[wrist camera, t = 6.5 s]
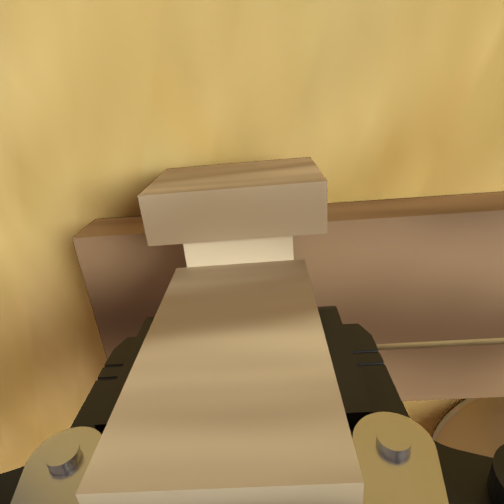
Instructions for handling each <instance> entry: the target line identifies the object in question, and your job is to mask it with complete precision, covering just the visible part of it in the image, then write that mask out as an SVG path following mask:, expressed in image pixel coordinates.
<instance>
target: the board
mask: <svg viewBox="0 0 504 504" xmlns="http://www.w3.org/2000/svg"><path fill="white" fill-rule="evenodd" d="M72 239H73V243H74V246H75V250H76V253H77V257H78V260H79V264H80V267H81V270H82V274H83V277H84V281H85V284H86V288H87V291H88V295H89V298H90V302H91V305H92V308H93V312H94V315H95V319H96V322H97V326H98V329H99V333H100V336H101V339H102V343H103V346H104V350H105V353H106V357H107V360H108V358H109V356H110V355H111V353H112V351H113V350H114V349H115V348H116V347H117V346H118V345H119V344H120V343H121V342H123V341H124V340H125V339H126V338H127V337H136V336H137V335H138V333H139V331H140V329H141V327H142V325H143V323H144V321H145V319H146V318H147V317H155V315H156V313H157V311H158V308H159V306H160V304H161V302H162V299H163V297H164V295H165V293H166V290H167V288H168V286H169V284H170V282H171V279H172V277H173V275H174V273H175V270H176V268H184V267H187V264H186V258H185V253H184V247H183V244H174V245H160V246H148V243H147V239H146V234H145V229H144V224H143V220H142V216H133V217H118V218H103V219H95V220H94V221H93V222H91V223H90V224H89V225H88V226H87V227H85V228H84V229H83V230H82V231H81V232H79V233H78V234H77V235H76V236H74V237H73V238H72ZM293 255H294V260H300V259H305V263H306V266H307V270H308V274H309V278H310V282H311V285H312V289H313V293H314V297H315V300H316V304H317V307H322V306H336V307H337V310H338V312H339V315H340V318H341V321H342V324H356V323H358V324H359V325H361V326H362V327H363V328H364V329H365V330H366V331H368V332H369V333H370V334H371V335H372V337H373V339H374V341H375V343H376V345H377V348H378V351H379V353H380V354H381V356H382V359H383V361H384V365H386V367H387V370H388V372H389V374H390V376H391V379H392V381H393V383H394V385H395V387H396V390H397V392H398V394H399V396H400V398H401V401H419V400H442V399H465V398H488V397H504V192H490V193H475V194H460V195H445V196H430V197H415V198H400V199H386V200H371V201H356V202H341V203H327V233H326V234H312V235H298V236H293Z"/></svg>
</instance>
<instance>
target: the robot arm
mask: <svg viewBox="0 0 504 504" xmlns="http://www.w3.org/2000/svg"><path fill="white" fill-rule="evenodd" d="M317 308H318V312H319V315H320V319H321V323H322V327H323V330H324V334H325V338H326V342H327V345H328V349H329V353H330V357H331V360H332V364H333V368H334V372H335V375H336V379H337V383H338V387H339V390H340V394H341V398H342V402H343V406H344V409H345V413H346V417H347V421H348V424H349V428H350V432H351V436H352V439H353V443H354V447H355V451H356V454H357V458H358V462H359V466H360V469H361V473H362V477H363V481H364V493H363V504H504V444H503V445H501V446H500V447H499V448H498V449H497V450H496V452H495V454H494V457H493V458H492V457H487V456H483V455H479V454H474V453H470V452H466V451H461V450H457V449H454V448H450V447H448V446H445V445H443V444H440V443H438V442H436V441H435V440H433V439H432V437H431V436H430V435H429V433H428V432H427V431H426V430H425V429H424V428H423V427H422V426H421V425H420V424H418V423H417V422H415V421H414V420H412V419H410V417H409V416H408V414H407V412H406V409H405V407H404V405H403V403H402V401H401V398H400V396H399V394H398V392H397V390H396V387H395V385H394V383H393V381H392V379H391V376H390V374H389V372H388V370H387V367H386V365H384V361H383V359H382V356H381V354H380V353H379V351H378V348H377V345H376V343H375V341H374V339H373V337H372V335H371V334H370V333H369V332H368V331H366V330H365V329H364V328H363V327H362V326H361V325H359V324H358V323H356V324H342V321H341V318H340V315H339V312H338V310H337V307H336V306H322V307H317ZM153 320H154V317H147V318H146V319H145V321H144V323H143V325H142V327H141V329H140V331H139V333H138V335H137V336H136V337H127V338H126V339H125V340H124V341H123V342H121V343H120V344H119V345H118V346H117V347H116V348H115V349H114V350H113V351H112V353H111V355H110V356H109V358H108V360H107V362H106V364H105V368H103V369H102V371H101V373H100V375H99V376H98V381H96V382H95V384H94V386H93V387H92V389H91V391H90V393H89V395H88V396H87V398H86V400H85V402H84V404H83V406H82V407H81V409H80V411H79V413H78V415H77V417H76V418H75V420H74V422H73V424H72V426H71V427H70V429H67V430H64V431H62V432H59V433H58V434H56V435H54V436H52V437H51V438H49V439H48V440H46V441H45V442H44V443H42V444H41V445H40V446H39V447H38V448H37V449H36V450H35V451H34V452H33V454H32V455H31V456H30V458H29V459H28V461H27V462H26V465H25V466H24V467H21V468H18V469H15V470H12V471H9V472H6V473H3V474H0V504H79V502H78V500H77V497H76V495H75V494H76V492H77V489H78V487H79V485H80V483H81V481H82V478H83V476H84V474H85V472H86V469H87V467H88V465H89V463H90V460H91V458H92V456H93V454H94V451H95V449H96V447H97V445H98V443H99V440H100V438H101V436H102V434H103V431H104V429H105V427H106V425H107V422H108V420H109V418H110V416H111V413H112V411H113V409H114V407H115V405H116V402H117V400H118V398H119V396H120V393H121V391H122V389H123V387H124V384H125V382H126V380H127V378H128V375H129V373H130V371H131V369H132V367H133V364H134V362H135V360H136V358H137V355H138V353H139V351H140V349H141V346H142V344H143V342H144V340H145V337H146V335H147V333H148V331H149V328H150V326H151V324H152V322H153Z"/></svg>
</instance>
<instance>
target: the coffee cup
mask: <svg viewBox="0 0 504 504" xmlns="http://www.w3.org/2000/svg"><path fill="white" fill-rule="evenodd" d="M432 439H433V440H435V441H436V442H438V443H440V444H443V445H445V446H448V447H450V448H454V449H457V450H461V451H466V452H470V453H474V454H479V455H483V456H487V457H492V458H493V457H494V454H495V452H496V450H497V449H498V448H499V447H500V446H501V445H503V444H504V397H488V398H466V399H465V400H463V401H462V402H460V403H459V404H458V405H456V406H455V407H454V408H453V409H452V410H450V411H449V412H448V413H447V414H446V415H445V416H444V418H443V419H442V420H441V421H440V423H439V424H438V426H437V428H436V430H435V432H434V433H433V437H432Z"/></svg>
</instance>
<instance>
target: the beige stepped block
mask: <svg viewBox="0 0 504 504" xmlns="http://www.w3.org/2000/svg"><path fill="white" fill-rule="evenodd" d="M138 201H139V206H140V210H141V215H142V220H143V224H144V229H145V234H146V239H147V243H148V246H160V245H174V244H183V247H184V253H185V258H186V264H187V267H184V268H176V270H175V273H174V275H173V277H172V279H171V282H170V284H169V286H168V288H167V290H166V293H165V295H164V297H163V299H162V302H161V304H160V306H159V308H158V311H157V313H156V315H155V317H154V320H153V322H152V324H151V326H150V328H149V331H148V333H147V335H146V337H145V340H144V342H143V344H142V346H141V349H140V351H139V353H138V355H137V358H136V360H135V362H134V364H133V367H132V369H131V371H130V373H129V375H128V378H127V380H126V382H125V384H124V387H123V389H122V391H121V393H120V396H119V398H118V400H117V402H116V405H115V407H114V409H113V411H112V413H111V416H110V418H109V420H108V422H107V425H106V427H105V429H104V431H103V434H102V436H101V438H100V440H99V443H98V445H97V447H96V449H95V451H94V454H93V456H92V458H91V460H90V463H89V465H88V467H87V469H86V472H85V474H84V476H83V478H82V481H81V483H80V485H79V487H78V489H77V492H76V494H75V495H76V497H77V500H78V502H79V504H363V493H364V481H363V477H362V473H361V469H360V466H359V462H358V458H357V454H356V451H355V447H354V443H353V439H352V436H351V432H350V428H349V424H348V421H347V417H346V413H345V409H344V406H343V402H342V398H341V394H340V390H339V387H338V383H337V379H336V375H335V372H334V368H333V364H332V360H331V357H330V353H329V349H328V345H327V342H326V338H325V334H324V330H323V327H322V323H321V319H320V315H319V312H318V308H317V304H316V300H315V297H314V293H313V289H312V285H311V282H310V278H309V274H308V270H307V266H306V263H305V259H300V260H294V255H293V236H298V235H312V234H326V233H327V180H326V178H325V177H324V176H323V174H322V173H321V171H320V170H319V169H318V167H317V166H316V164H315V163H314V162H313V160H312V159H311V158H310V157H303V158H291V159H278V160H266V161H254V162H242V163H230V164H218V165H206V166H193V167H181V168H169V169H166V170H165V171H164V172H163V173H162V174H161V175H160V176H159V177H157V178H156V179H155V180H154V181H153V182H152V183H151V184H150V185H149V186H148V187H147V188H145V189H144V190H143V191H142V192H141V193H140V194H139V195H138Z"/></svg>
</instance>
